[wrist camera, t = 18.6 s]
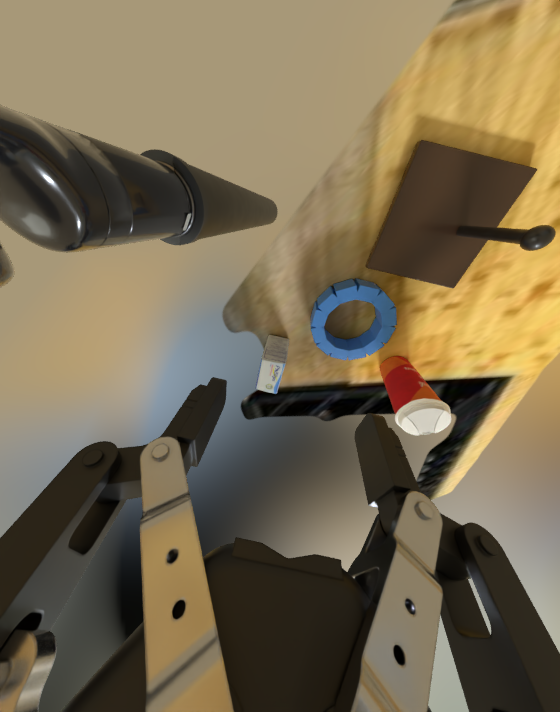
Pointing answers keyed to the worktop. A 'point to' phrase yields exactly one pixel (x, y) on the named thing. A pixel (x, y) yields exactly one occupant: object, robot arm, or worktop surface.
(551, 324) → the worktop surface
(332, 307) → the blue notched ring
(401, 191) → the brown peg stand
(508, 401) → the worktop surface
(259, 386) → the medicine box
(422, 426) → the paper cup
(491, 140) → the worktop surface
